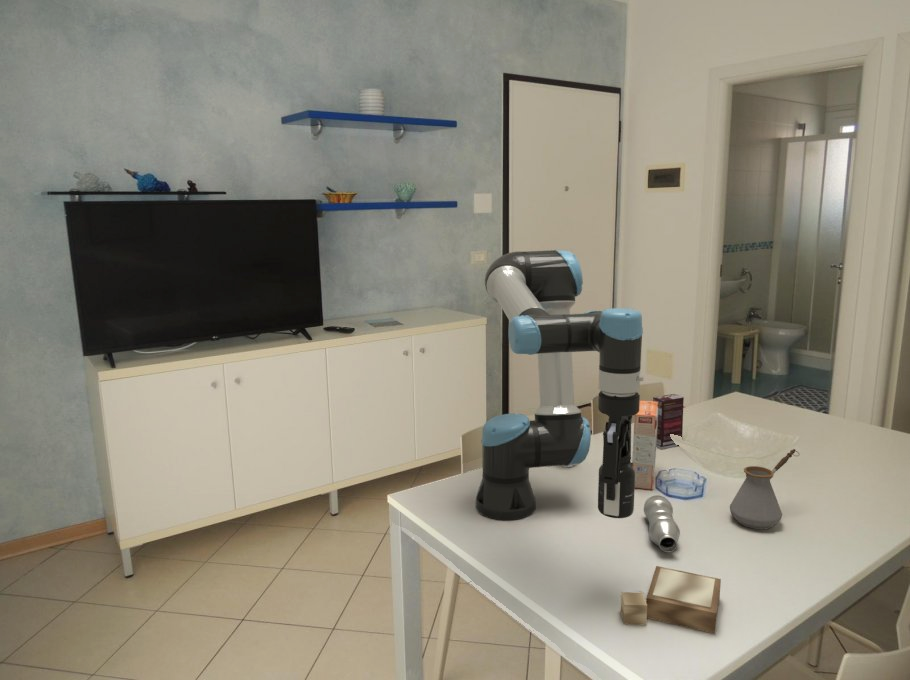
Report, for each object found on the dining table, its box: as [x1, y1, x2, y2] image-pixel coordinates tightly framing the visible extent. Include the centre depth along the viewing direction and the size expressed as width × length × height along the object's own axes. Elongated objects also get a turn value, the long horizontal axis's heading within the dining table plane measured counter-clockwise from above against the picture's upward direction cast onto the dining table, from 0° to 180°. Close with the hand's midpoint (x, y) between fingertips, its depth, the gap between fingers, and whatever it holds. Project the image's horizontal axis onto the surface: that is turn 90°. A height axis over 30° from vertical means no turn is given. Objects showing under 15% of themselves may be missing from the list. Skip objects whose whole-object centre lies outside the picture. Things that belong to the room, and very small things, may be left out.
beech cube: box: [620, 591, 648, 626], centre depth 122 cm, size 4×4×4 cm
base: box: [645, 565, 722, 634], centre depth 125 cm, size 12×12×4 cm
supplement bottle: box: [597, 450, 636, 519], centre depth 128 cm, size 7×7×12 cm
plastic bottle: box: [643, 494, 681, 553], centre depth 152 cm, size 6×7×20 cm
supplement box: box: [652, 393, 685, 450], centre depth 208 cm, size 9×5×16 cm, turn 114°
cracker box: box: [631, 400, 658, 491], centre depth 182 cm, size 14×6×21 cm, turn 161°
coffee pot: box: [729, 448, 800, 530], centre depth 160 cm, size 21×12×15 cm, turn 124°
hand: (615, 506), depth 129 cm, fingers closed on supplement bottle, 7 cm apart
